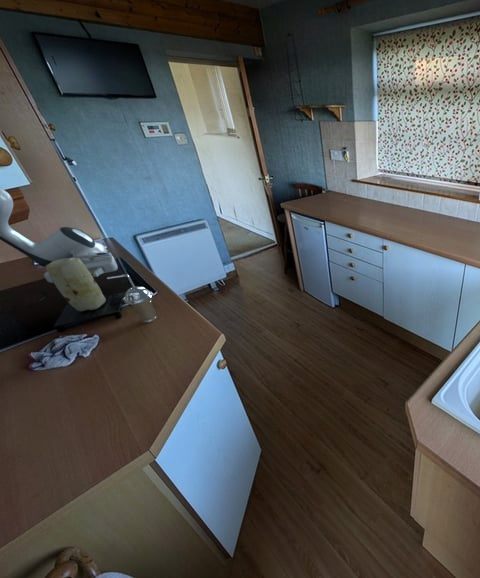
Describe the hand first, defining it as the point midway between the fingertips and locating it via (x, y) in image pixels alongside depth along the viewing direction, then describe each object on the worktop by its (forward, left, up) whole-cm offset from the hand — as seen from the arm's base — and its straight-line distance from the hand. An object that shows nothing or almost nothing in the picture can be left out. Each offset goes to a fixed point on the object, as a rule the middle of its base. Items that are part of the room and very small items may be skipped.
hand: (77, 278), depth 107 cm
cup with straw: (+18, -17, -15) cm, 29 cm away
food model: (0, -3, -12) cm, 12 cm away
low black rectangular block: (0, -3, -15) cm, 15 cm away
